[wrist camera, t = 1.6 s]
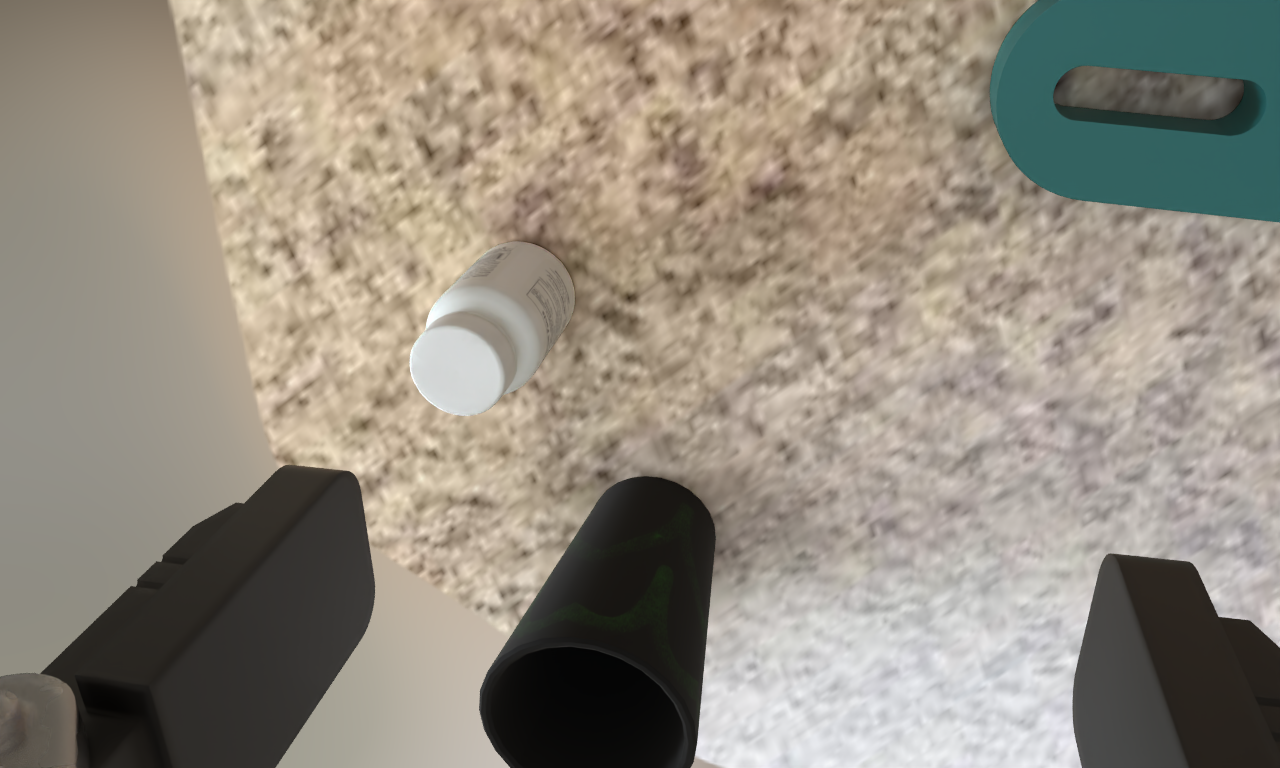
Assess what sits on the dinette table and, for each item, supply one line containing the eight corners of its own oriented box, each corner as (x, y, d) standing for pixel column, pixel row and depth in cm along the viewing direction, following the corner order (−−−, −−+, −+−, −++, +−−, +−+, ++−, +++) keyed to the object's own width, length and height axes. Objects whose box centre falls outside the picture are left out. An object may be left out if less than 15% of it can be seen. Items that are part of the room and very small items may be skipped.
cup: (594, 606, 48) (514, 811, 38) (549, 465, 45) (449, 646, 35) (755, 593, 46) (718, 808, 36) (719, 445, 43) (666, 632, 33)
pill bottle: (460, 313, 43) (382, 398, 36) (491, 221, 41) (413, 292, 34) (557, 357, 43) (496, 449, 36) (592, 266, 41) (535, 346, 34)
